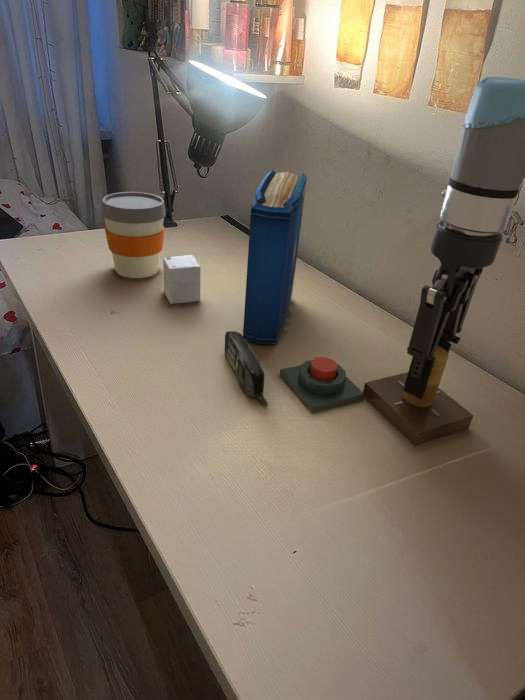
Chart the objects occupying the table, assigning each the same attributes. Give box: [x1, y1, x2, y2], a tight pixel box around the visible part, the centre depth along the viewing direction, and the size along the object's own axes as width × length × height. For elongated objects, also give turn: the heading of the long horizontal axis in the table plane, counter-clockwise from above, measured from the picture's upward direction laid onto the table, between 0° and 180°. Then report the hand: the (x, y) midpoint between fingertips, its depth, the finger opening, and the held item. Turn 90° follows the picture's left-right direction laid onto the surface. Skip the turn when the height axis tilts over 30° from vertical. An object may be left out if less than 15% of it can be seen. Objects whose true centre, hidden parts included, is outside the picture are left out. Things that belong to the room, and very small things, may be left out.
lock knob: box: [403, 345, 450, 407], centre depth 71 cm, size 4×4×8 cm
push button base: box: [278, 359, 365, 414], centre depth 77 cm, size 9×10×3 cm
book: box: [242, 169, 308, 345], centre depth 88 cm, size 22×7×25 cm, turn 171°
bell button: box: [310, 356, 338, 381], centre depth 76 cm, size 4×4×2 cm
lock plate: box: [362, 371, 474, 447], centre depth 74 cm, size 10×12×3 cm
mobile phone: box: [224, 330, 269, 407], centre depth 76 cm, size 5×3×15 cm
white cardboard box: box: [162, 254, 201, 305], centre depth 98 cm, size 6×6×7 cm
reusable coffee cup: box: [101, 191, 167, 279], centre depth 105 cm, size 12×13×15 cm
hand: (421, 386), depth 72 cm, fingers closed on lock knob, 4 cm apart
